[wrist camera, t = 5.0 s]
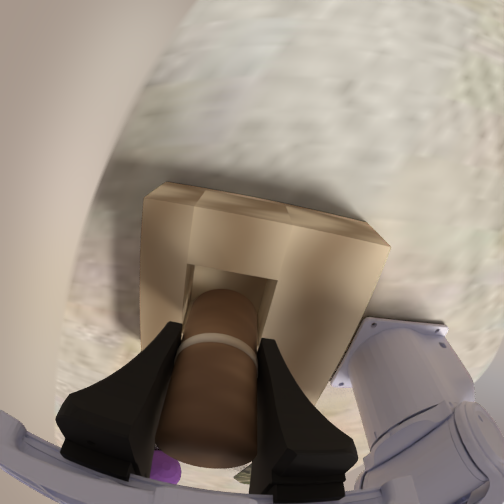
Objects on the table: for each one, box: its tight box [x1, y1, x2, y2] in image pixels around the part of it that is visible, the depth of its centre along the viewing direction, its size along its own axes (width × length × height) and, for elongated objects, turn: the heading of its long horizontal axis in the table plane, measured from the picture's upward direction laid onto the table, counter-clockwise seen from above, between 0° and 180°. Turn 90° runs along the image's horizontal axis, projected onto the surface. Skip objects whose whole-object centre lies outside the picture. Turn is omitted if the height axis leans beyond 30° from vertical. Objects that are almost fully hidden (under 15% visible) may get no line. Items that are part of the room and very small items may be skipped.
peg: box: [155, 289, 258, 468], centre depth 12 cm, size 4×4×8 cm
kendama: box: [150, 450, 181, 484], centre depth 32 cm, size 6×6×20 cm
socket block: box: [140, 182, 391, 406], centre depth 19 cm, size 13×14×4 cm
